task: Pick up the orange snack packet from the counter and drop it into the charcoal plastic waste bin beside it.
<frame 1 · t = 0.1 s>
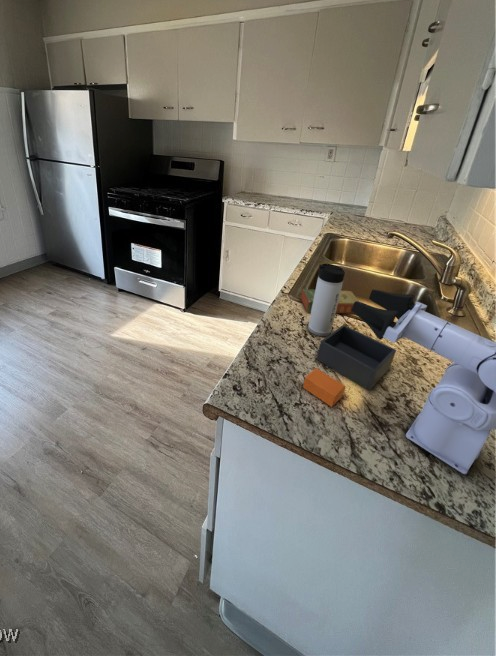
hand: (362, 299, 62), 22 cm above the counter, tool horizontal, fingers open, 7 cm apart
bin: (352, 363, 77), on the counter
carton: (327, 307, 101), on the counter
packet: (322, 391, 69), on the counter
travel mug: (318, 330, 89), on the counter
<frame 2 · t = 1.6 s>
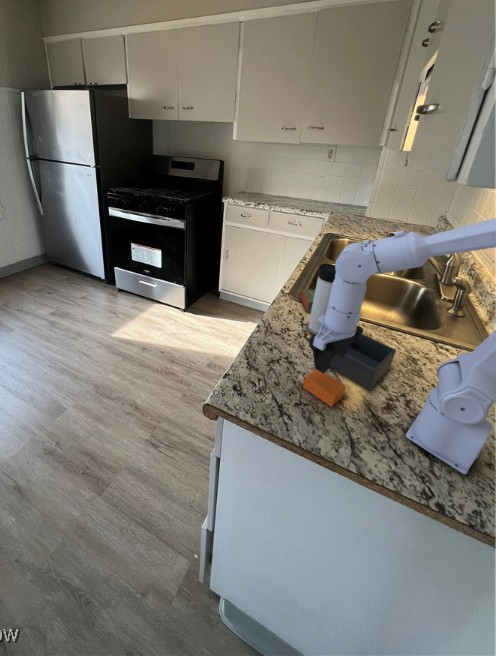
hand: (329, 361, 65), 8 cm above the counter, tool pointing down, fingers open, 7 cm apart
nothing on the counter moved.
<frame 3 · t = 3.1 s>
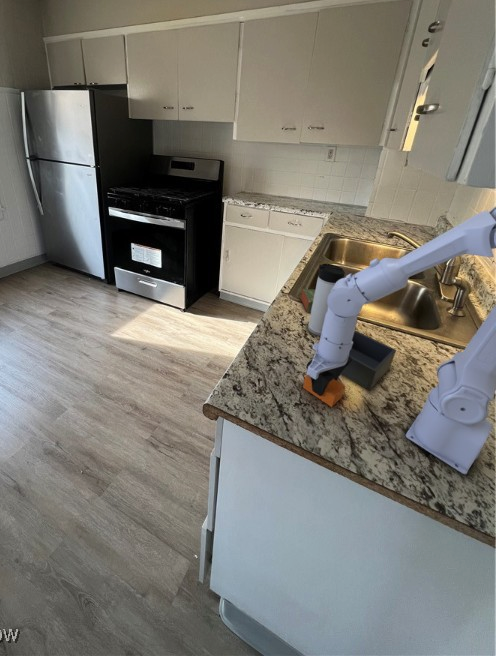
hand: (323, 386, 68), 1 cm above the counter, tool pointing down, fingers closed on packet, 4 cm apart
packet: (322, 391, 69), on the counter, touching gripper
everything else where it was.
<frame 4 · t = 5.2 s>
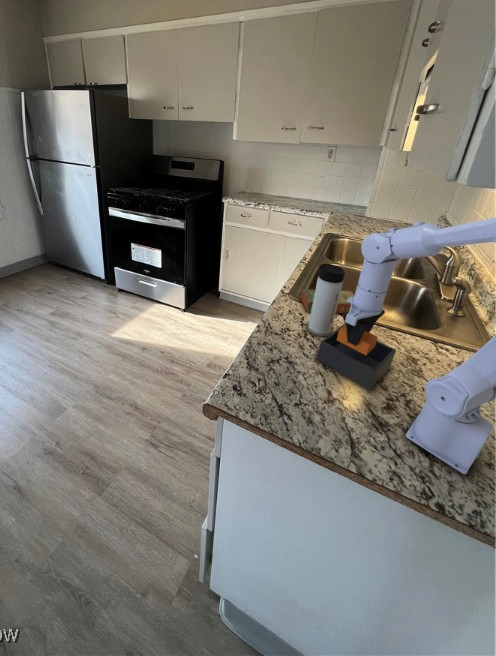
hand: (357, 338, 72), 8 cm above the counter, tool pointing down, fingers closed on packet, 4 cm apart
packet: (355, 343, 73), point 7 cm above the counter, touching gripper
everything else where it was.
when the fingers open (2 cm above the counter, at t = 7.6 s): packet stays where it is, resting on bin.
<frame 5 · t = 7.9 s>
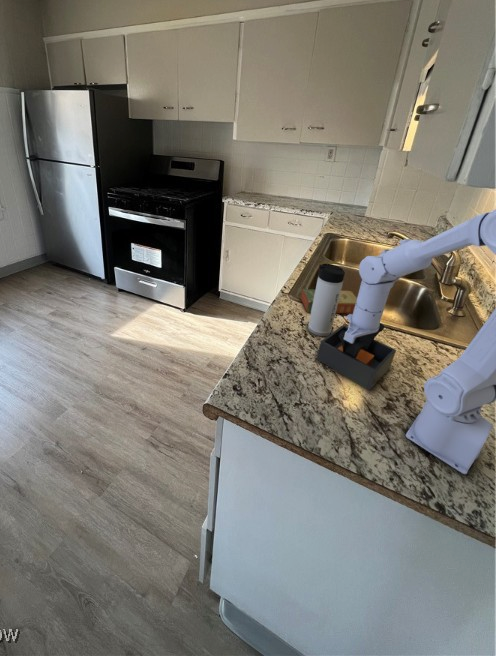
hand: (355, 354, 76), 3 cm above the counter, tool pointing down, fingers open, 7 cm apart
packet: (352, 361, 77), point 1 cm above the counter, touching bin
everything else where it was.
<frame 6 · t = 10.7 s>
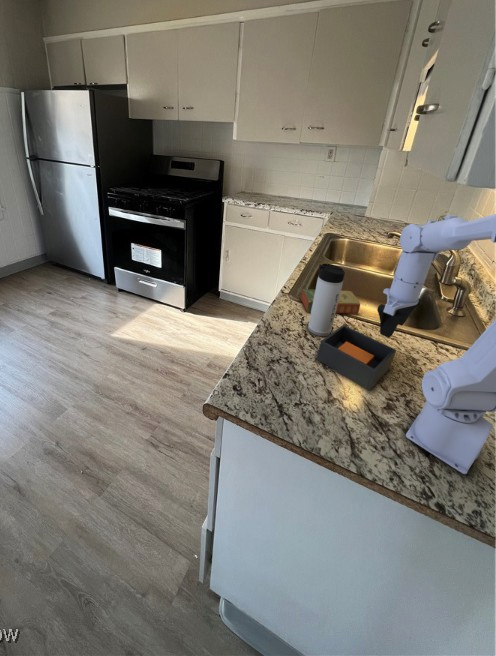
hand: (391, 329, 75), 9 cm above the counter, tool pointing down, fingers open, 7 cm apart
nothing on the counter moved.
at the end: packet inside the target area in the bin (0.1 cm from its centre), point 0.6 cm above the bin's base; the gripper is holding nothing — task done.
